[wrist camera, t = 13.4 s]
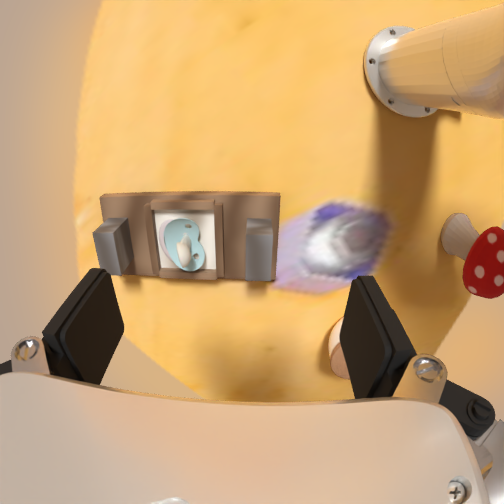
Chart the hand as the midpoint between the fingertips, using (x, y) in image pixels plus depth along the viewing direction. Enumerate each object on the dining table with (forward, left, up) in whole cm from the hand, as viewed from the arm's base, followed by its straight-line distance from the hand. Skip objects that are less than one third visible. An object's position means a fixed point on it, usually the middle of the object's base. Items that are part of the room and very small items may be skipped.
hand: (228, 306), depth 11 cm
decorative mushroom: (-32, +8, -28) cm, 44 cm away
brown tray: (+8, +10, -28) cm, 31 cm away
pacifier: (+9, +10, -27) cm, 30 cm away
